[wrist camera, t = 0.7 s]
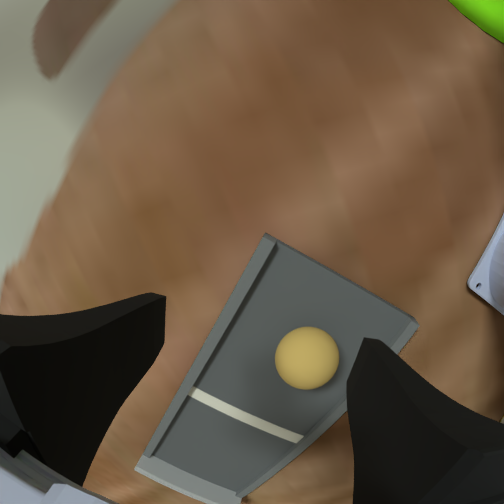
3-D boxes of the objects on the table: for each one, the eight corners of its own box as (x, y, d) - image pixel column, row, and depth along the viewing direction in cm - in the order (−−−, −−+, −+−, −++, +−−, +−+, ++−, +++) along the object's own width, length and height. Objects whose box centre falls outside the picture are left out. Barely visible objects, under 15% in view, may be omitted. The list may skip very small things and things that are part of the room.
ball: (347, 332, 19) (356, 366, 16) (315, 373, 21) (316, 410, 17) (296, 305, 19) (295, 337, 16) (266, 350, 21) (259, 385, 17)
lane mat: (414, 317, 19) (428, 338, 16) (238, 493, 27) (234, 513, 25) (265, 232, 19) (259, 243, 16) (144, 451, 27) (134, 469, 25)
